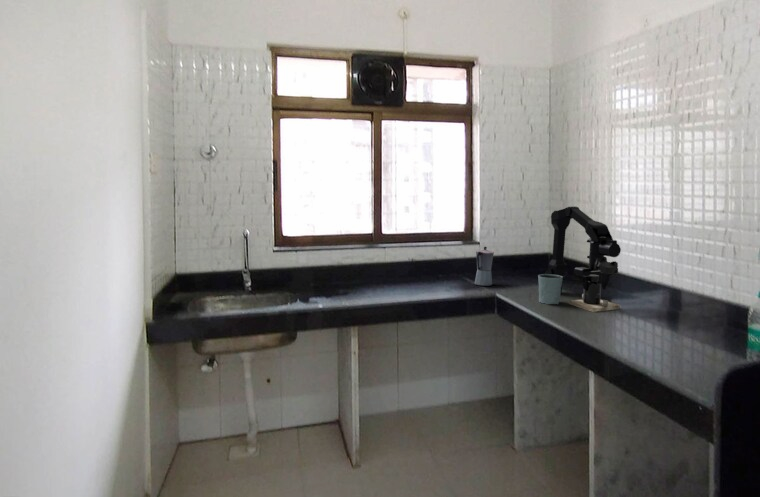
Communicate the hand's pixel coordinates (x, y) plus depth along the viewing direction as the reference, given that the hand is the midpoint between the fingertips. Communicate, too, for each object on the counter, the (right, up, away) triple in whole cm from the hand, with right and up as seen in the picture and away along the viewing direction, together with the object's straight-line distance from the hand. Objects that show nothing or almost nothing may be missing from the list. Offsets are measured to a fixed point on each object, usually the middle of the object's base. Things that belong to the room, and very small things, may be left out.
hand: (595, 290), depth 209 cm
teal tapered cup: (-16, -6, +9) cm, 20 cm away
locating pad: (0, -7, +1) cm, 7 cm away
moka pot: (-38, -1, +48) cm, 61 cm away
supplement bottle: (-1, -6, +1) cm, 6 cm away
